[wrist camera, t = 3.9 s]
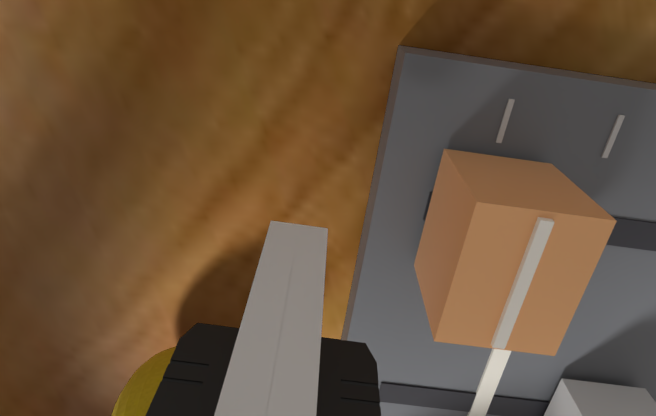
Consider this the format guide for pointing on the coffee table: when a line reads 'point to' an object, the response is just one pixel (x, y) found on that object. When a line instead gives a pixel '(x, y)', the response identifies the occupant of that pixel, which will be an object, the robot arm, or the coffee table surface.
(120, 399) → the lemon
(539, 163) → the fader orange
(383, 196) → the console
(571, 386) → the fader grey
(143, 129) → the coffee table surface
